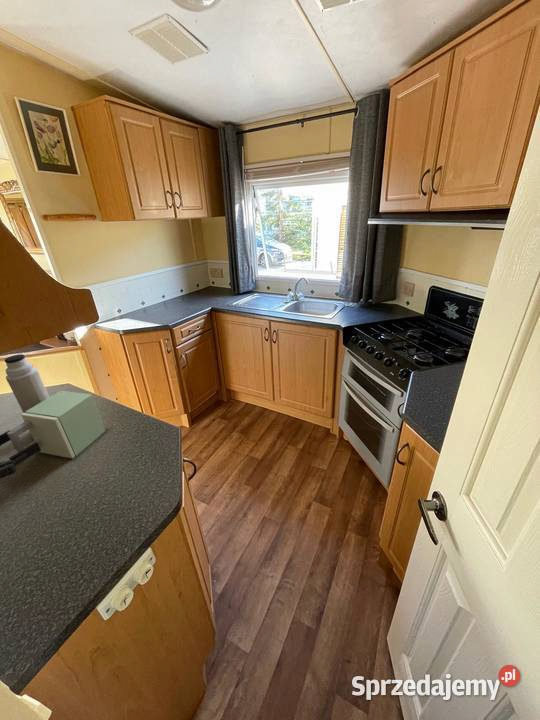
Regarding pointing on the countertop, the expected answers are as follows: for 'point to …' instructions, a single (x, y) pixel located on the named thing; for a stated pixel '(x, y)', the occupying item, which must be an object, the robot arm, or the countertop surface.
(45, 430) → the machine door
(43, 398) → the thermos bottle
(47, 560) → the countertop surface
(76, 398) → the box
